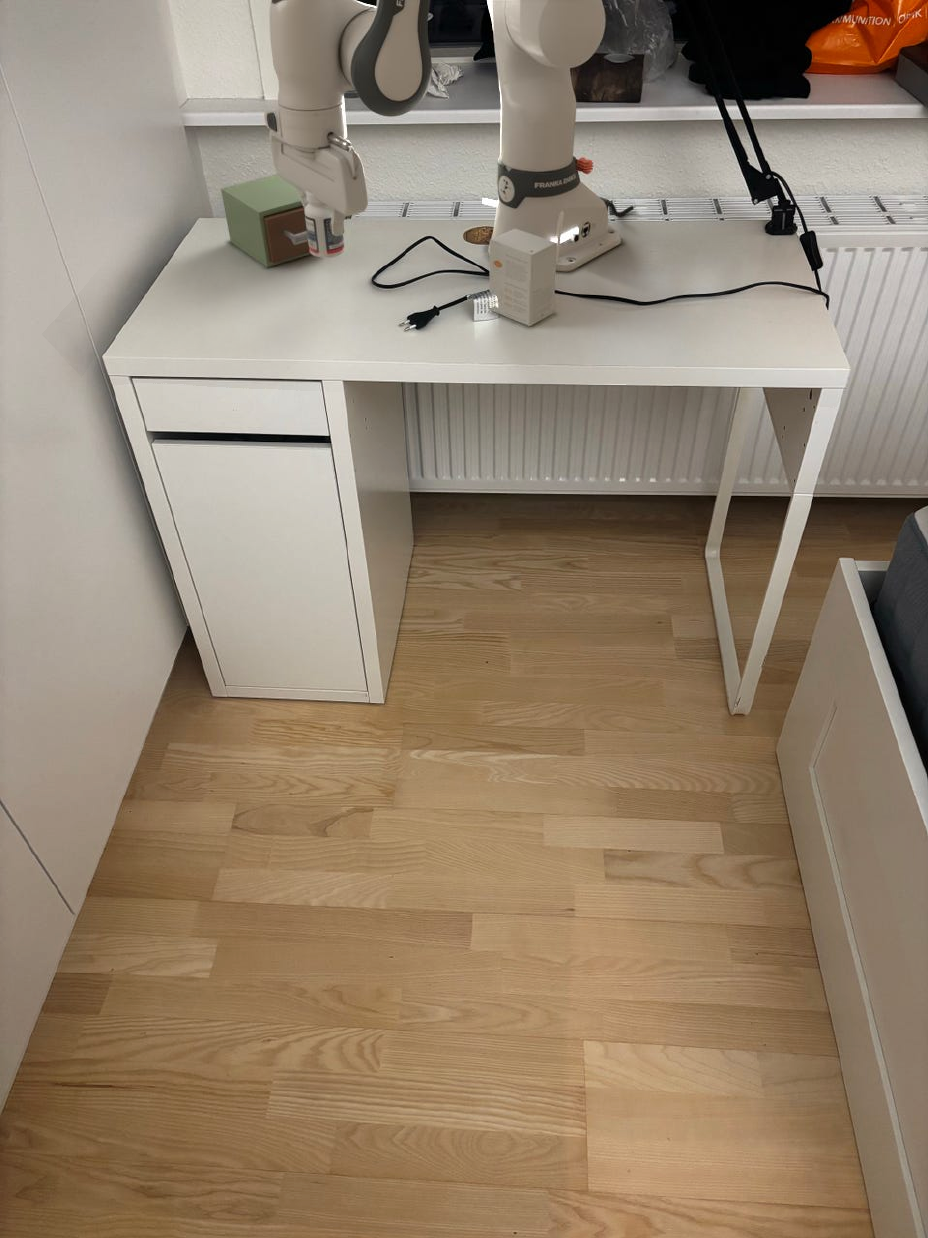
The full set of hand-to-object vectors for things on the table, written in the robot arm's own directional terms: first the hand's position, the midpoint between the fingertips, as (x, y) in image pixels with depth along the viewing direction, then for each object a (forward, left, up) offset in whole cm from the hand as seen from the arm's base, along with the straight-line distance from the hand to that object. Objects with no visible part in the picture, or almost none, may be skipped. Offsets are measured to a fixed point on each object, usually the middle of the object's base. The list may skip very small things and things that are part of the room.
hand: (324, 226), depth 135 cm
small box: (-17, +25, -9) cm, 32 cm away
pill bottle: (0, 0, -4) cm, 4 cm away
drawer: (-1, -14, -8) cm, 16 cm away
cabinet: (-1, -18, -9) cm, 20 cm away
